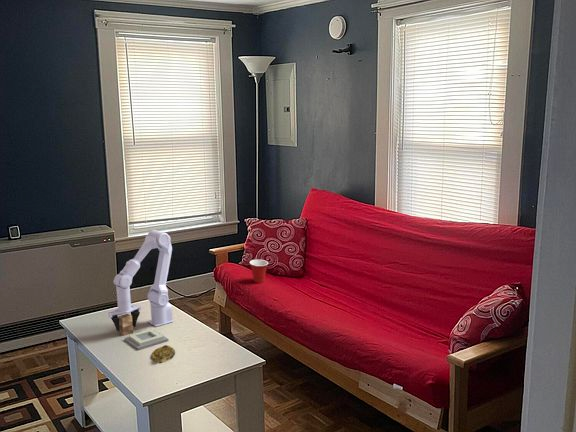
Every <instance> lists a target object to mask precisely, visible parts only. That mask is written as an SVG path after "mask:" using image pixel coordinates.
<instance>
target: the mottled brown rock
mask: <svg viewBox="0 0 576 432" xmlns="http://www.w3.org/2000/svg"><path fill="white" fill-rule="evenodd" d="M152 351H153V352H152V354H151V360H152V361H154V362H155V363H158V364H162V363H166V362H169V361H170V360H172V359H173V358H174V356H175V354H176V350H175V348H174V347H172V346H170V345H167V344H165V345H163V346H160V347H158V348H155V350H152Z"/></svg>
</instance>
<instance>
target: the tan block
mask: <svg viewBox="0 0 576 432" xmlns="http://www.w3.org/2000/svg"><path fill="white" fill-rule="evenodd" d="M118 318H120V320H119V327H120V331H119V334H121V335H122V336H129V335H132V334H134V327H133V323H132V316H131V314H130V313H127V314H126V313H125V314H122V315H118Z"/></svg>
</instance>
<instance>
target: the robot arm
mask: <svg viewBox="0 0 576 432" xmlns="http://www.w3.org/2000/svg"><path fill="white" fill-rule="evenodd" d="M171 239H172V238H171V236H170V235H169V234H168V233H166V232H163V231H159V230H158V229H152V230H150V231H149V232H148V233H147V235H146V236H145V239H144V242H143V243H142V245H141V247H140V248H139V249H138V251H137V253H136V254H135V255H134V257H133V258H132V259H129V260H128V261H126V263H125V266H124V267H123V269H121V270H120V271H119V273H118V274H116V275H115V276H114V279H113V280H112V282H113V284H114V286H115V288H116V289H115V291H116V301H117V309H115V310H112V311H110V312H108V313H107V314H108V318H110V319H111V320H112V322H113V325H114V326H115V330H116V332H119V333H120V327H119V320H120V318H118V316H121V315H124V314H130V315H131V316H132V323H133V328H136V327H137V322H138V318H139V316H140V313H141V312H140V311H142V309H141V305H140V304H137V305H132V299H131V291H130V290H131V287H130V286H131V285H132V283H133V277H134V276H135V275H136V274H137V272H138V271H139V269H140V268H141V262H142V261H143V260H144V259H145V257H146V256H147V255H148V254H149V252H151V250H153V249H158V251H159V253H158V258H157V265H156V270H155V276H154V282H153V284H152V285H151V286H150V288H149V291H148V292H147V300H148V301H149V304H150V318H151V319H149V320H148V323H149V324H151V325H152V326H154V327H160V326H164V325H167V324H170V323H174V318H173V306H172V305H171V303H170V302H169V289H168V287H167V282H168V281H167V279H168V275H169V269H170V264H171V258H172V252H173V246H172V242H171Z"/></svg>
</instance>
